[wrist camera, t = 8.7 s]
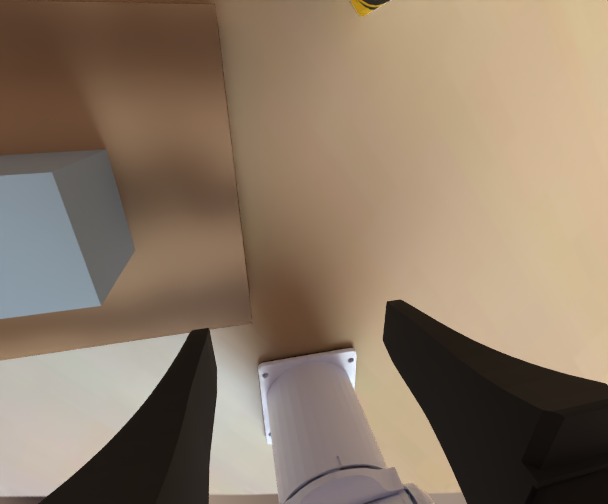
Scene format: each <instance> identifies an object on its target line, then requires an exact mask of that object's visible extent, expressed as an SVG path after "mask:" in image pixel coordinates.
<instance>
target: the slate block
mask: <svg viewBox="0 0 608 504" xmlns="http://www.w3.org/2000/svg"><path fill="white" fill-rule="evenodd" d="M134 252H135V248H134V244H133V241H132V237H131V234H130V230H129V227H128V223H127V220H126V216H125V213H124V209H123V206H122V202H121V199H120V195H119V192H118V188H117V185H116V181H115V178H114V174H113V171H112V167H111V164H110V160H109V157H108V153H107V150H106V149H104V150H86V151H69V152H51V153H33V154H15V155H0V319H5V318H12V317H20V316H28V315H35V314H43V313H50V312H58V311H65V310H73V309H81V308H88V307H96V306H101V305H102V303H103V302H104V300H105V299H106V297H107V295H108V294H109V292H110V290H111V289H112V287H113V286H114V284H115V282H116V281H117V279H118V278H119V276H120V274H121V273H122V271H123V269H124V268H125V266H126V265H127V263H128V261H129V260H130V258H131V256H132V255H133V253H134Z"/></svg>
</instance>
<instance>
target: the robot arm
mask: <svg viewBox="0 0 608 504" xmlns="http://www.w3.org/2000/svg"><path fill="white" fill-rule="evenodd" d="M383 342H384V344H385V346H386V349H387V351H388V353H389V355H390V357H391V359H392V362H393V363H394V365H395V367H396V368H397V370H398V371H399V373H400V375H401V376H402V378H403V379H404V381H405V383H406V384H407V386H408V387H409V389H410V391H411V392H412V394H413V395H414V397H415V398H416V400H417V402H418V403H419V405H420V406H421V408H422V410H423V411H424V413H425V415H426V417H427V418H428V420H429V422H430V424H431V426H432V428H433V430H434V432H435V434H436V436H437V438H438V440H439V442H440V444H441V446H442V449H443V451H444V453H445V455H446V457H447V459H448V461H449V463H450V466H451V468H452V470H453V472H454V475H455V477H456V479H457V481H458V484H459V486H460V488H461V490H462V493H463V495H464V497H465V500H466V502H467V504H608V385H607V384H605V383H601V382H597V381H593V380H589V379H584V378H580V377H576V376H572V375H568V374H564V373H561V372H557V371H554V370H550V369H547V368H543V367H540V366H537V365H534V364H531V363H528V362H525V361H522V360H520V359H517V358H514V357H511V356H509V355H506V354H504V353H501V352H499V351H496V350H494V349H492V348H489V347H487V346H485V345H482V344H480V343H478V342H476V341H474V340H472V339H470V338H468V337H466V336H464V335H462V334H460V333H458V332H456V331H454V330H452V329H451V328H449V327H447V326H445V325H443V324H442V323H440V322H438V321H436V320H435V319H433V318H431V317H430V316H428V315H426V314H425V313H423V312H421V311H420V310H418V309H416V308H415V307H413V306H411V305H409V304H408V303H406V302H404V301H402V300H394V301H387V304H386V314H385V324H384V333H383ZM356 357H357V353H356V351H355V349H354V348H346V349H340V350H334V351H329V352H323V353H317V354H311V355H305V356H299V357H293V358H287V359H281V360H275V361H270V362H264V363H261V364H260V365H259V366H258V373H259V382H260V390H261V399H262V407H263V416H264V424H265V433H266V441H267V444H269V445H272V448H273V456H274V464H275V473H276V481H277V489H278V497H279V504H435V502H434V501H433V500H432V499H431V497H430V496H429V495H428V494H427V493H426V492H424V491H423V490H421V489H420V488H419V487H418V486H417V485H415V484H413V483H408V484H405V485H402V483H401V480H400V478H399V476H398V474H397V471H396V469H395V468H394V467H392V468H387V466H386V463H385V461H384V458H383V456H382V454H381V451H380V449H379V447H378V444H377V442H376V440H375V437H374V435H373V433H372V430H371V428H370V426H369V423H368V421H367V419H366V416H365V414H364V412H363V409H362V407H361V405H360V402H359V400H358V397H357V395H356V393H355V373H356ZM349 358H351V359H349ZM263 373H266V374H263ZM216 397H217V367H216V361H215V356H214V351H213V346H212V341H211V335H210V330H209V328H203V329H196V330H192V331H191V332H190V334H189V335H188V337H187V339H186V341H185V343H184V345H183V346H182V348H181V350H180V352H179V353H178V355H177V357H176V358H175V360H174V361H173V363H172V364H171V366H170V368H169V369H168V371H167V372H166V374H165V375H164V377H163V378H162V379H161V381H160V382H159V384H158V385H157V386H156V388H155V389H154V391H153V392H152V393H151V395H150V396H149V397H148V399H147V400H146V401H145V402H144V404H143V405H142V406H141V407H140V408H139V410H138V411H137V412H136V413H135V414H134V416H133V417H132V418H131V419H130V420H129V421H128V422H127V423H126V424H125V426H124V427H123V428H122V429H121V430H120V431H119V432H118V433H117V434H116V435H115V436H114V437H113V438H112V439H111V440H110V441H109V442H108V443H107V444H106V445H105V446H104V447H103V448H102V449H101V450H100V451H99V452H98V453H97V454H96V455H95V456H94V457H93V458H92V459H91V460H90V461H88V462H87V463H86V464H85V465H84V466H83V467H82V468H81V469H80V470H78V471H77V472H76V473H75V474H74V475H73V476H72V477H70V478H69V479H68V480H67V481H66V482H64V483H63V484H62V485H61V486H60V487H58V488H57V489H56V490H55V491H53V492H52V493H51V494H50V495H48V496H47V497H46V498H45V499H44V500H42V501H41V502H40V503H39V504H209V463H210V451H211V442H212V433H213V424H214V415H215V406H216Z"/></svg>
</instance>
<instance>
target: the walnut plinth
mask: <svg viewBox="0 0 608 504" xmlns="http://www.w3.org/2000/svg"><path fill="white" fill-rule="evenodd" d="M104 149H106V150H107V153H108V157H109V160H110V164H111V167H112V171H113V174H114V178H115V181H116V185H117V188H118V192H119V195H120V199H121V202H122V206H123V209H124V213H125V216H126V220H127V223H128V227H129V230H130V234H131V237H132V241H133V244H134V248H135V252H134V253H133V255H132V256H131V258H130V260H129V261H128V263H127V265H126V266H125V268H124V269H123V271H122V273H121V274H120V276H119V278H118V279H117V281H116V282H115V284H114V286H113V287H112V289H111V290H110V292H109V294H108V295H107V297H106V299H105V300H104V302H103V303H102V305H101V306H96V307H88V308H81V309H73V310H65V311H58V312H50V313H43V314H35V315H28V316H20V317H12V318H5V319H0V360H6V359H13V358H20V357H27V356H33V355H40V354H47V353H54V352H61V351H67V350H74V349H81V348H88V347H94V346H101V345H108V344H115V343H122V342H128V341H135V340H142V339H149V338H155V337H162V336H169V335H176V334H182V333H189V332H191V331H192V330H196V329H203V328H209V330H210V329H216V328H223V327H230V326H237V325H243V324H250V323H252V316H251V306H250V296H249V287H248V279H247V270H246V262H245V253H244V245H243V236H242V228H241V219H240V211H239V202H238V194H237V185H236V177H235V168H234V160H233V151H232V143H231V134H230V125H229V117H228V108H227V100H226V91H225V83H224V74H223V66H222V57H221V49H220V40H219V32H218V23H217V16H216V10H215V4H179V3H130V2H81V1H33V0H0V155H15V154H33V153H51V152H69V151H86V150H104Z"/></svg>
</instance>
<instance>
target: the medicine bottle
mask: <svg viewBox="0 0 608 504" xmlns="http://www.w3.org/2000/svg"><path fill="white" fill-rule="evenodd" d="M350 1H351V3H352V5H353V7H354V9H355V11H356V13H357V14H358V15H359V16H366V15H368V14H369V13H371V12H373V11H374V10H376V9H378V8H379V7H381V6H383V5H384V4H386V3H388V2H389V1H391V0H350Z"/></svg>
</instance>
